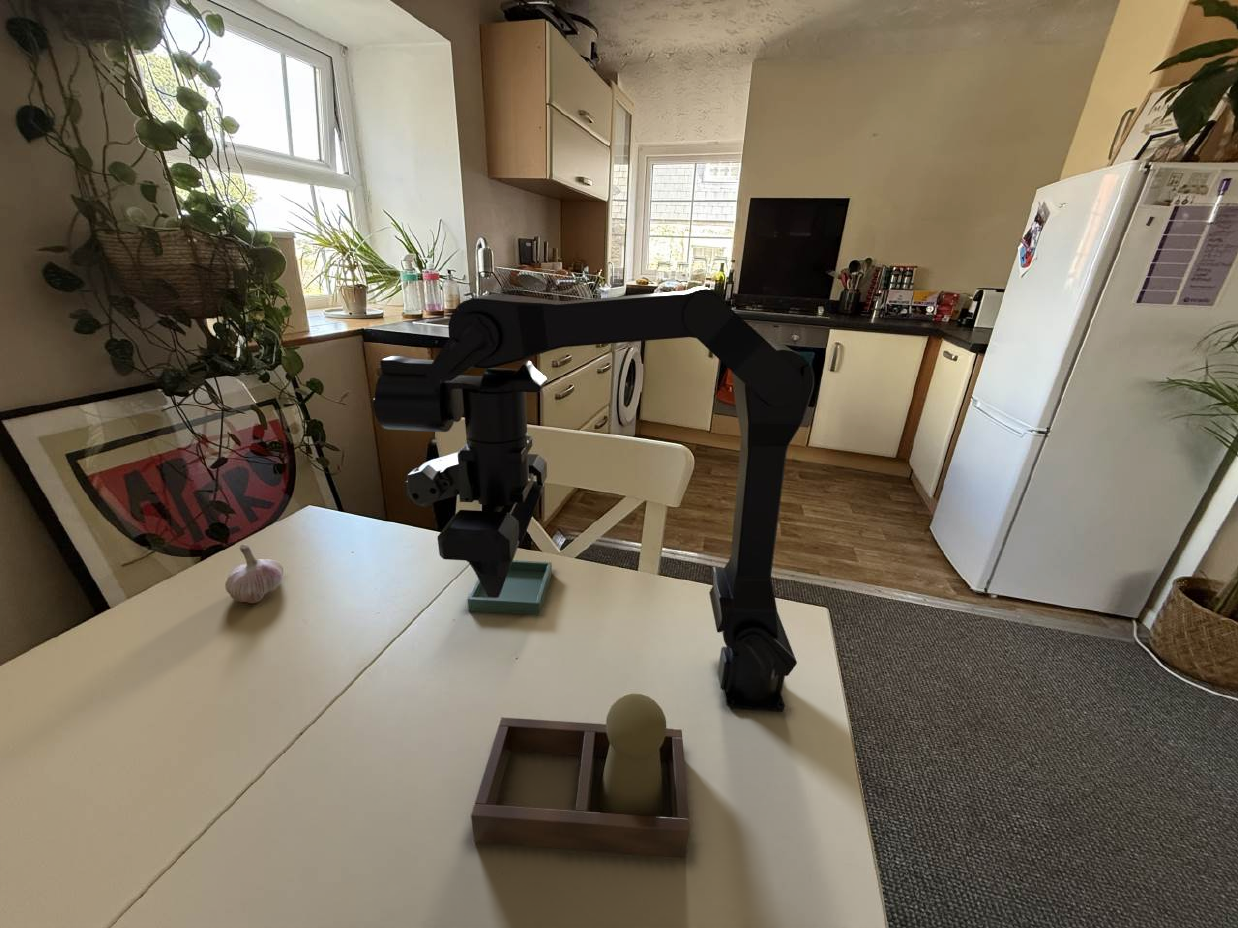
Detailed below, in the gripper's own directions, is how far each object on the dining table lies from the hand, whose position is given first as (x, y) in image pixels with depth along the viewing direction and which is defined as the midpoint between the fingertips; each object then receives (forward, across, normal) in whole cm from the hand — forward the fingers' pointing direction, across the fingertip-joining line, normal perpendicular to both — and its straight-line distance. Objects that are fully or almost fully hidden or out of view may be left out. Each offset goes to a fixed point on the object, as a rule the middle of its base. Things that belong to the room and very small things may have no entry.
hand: (505, 569), depth 53 cm
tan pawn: (+15, +14, +14) cm, 25 cm away
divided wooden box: (+15, +14, +10) cm, 23 cm away
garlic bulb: (+15, -12, -40) cm, 44 cm away
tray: (+15, -16, -4) cm, 22 cm away
